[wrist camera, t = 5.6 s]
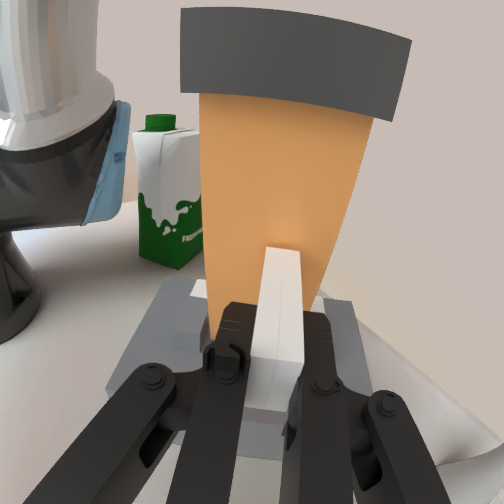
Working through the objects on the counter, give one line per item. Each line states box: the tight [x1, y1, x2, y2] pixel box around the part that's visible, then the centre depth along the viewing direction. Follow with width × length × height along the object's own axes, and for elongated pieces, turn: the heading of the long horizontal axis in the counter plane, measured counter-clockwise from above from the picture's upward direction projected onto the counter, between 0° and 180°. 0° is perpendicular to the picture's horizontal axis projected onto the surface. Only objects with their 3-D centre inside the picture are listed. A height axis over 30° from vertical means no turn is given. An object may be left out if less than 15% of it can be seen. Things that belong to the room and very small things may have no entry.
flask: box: [436, 444, 504, 504], centre depth 12 cm, size 7×7×10 cm
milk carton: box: [132, 114, 203, 270], centre depth 40 cm, size 9×9×20 cm
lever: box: [180, 7, 412, 340], centre depth 15 cm, size 3×7×20 cm, turn 85°
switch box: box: [105, 276, 373, 460], centre depth 23 cm, size 14×18×8 cm
